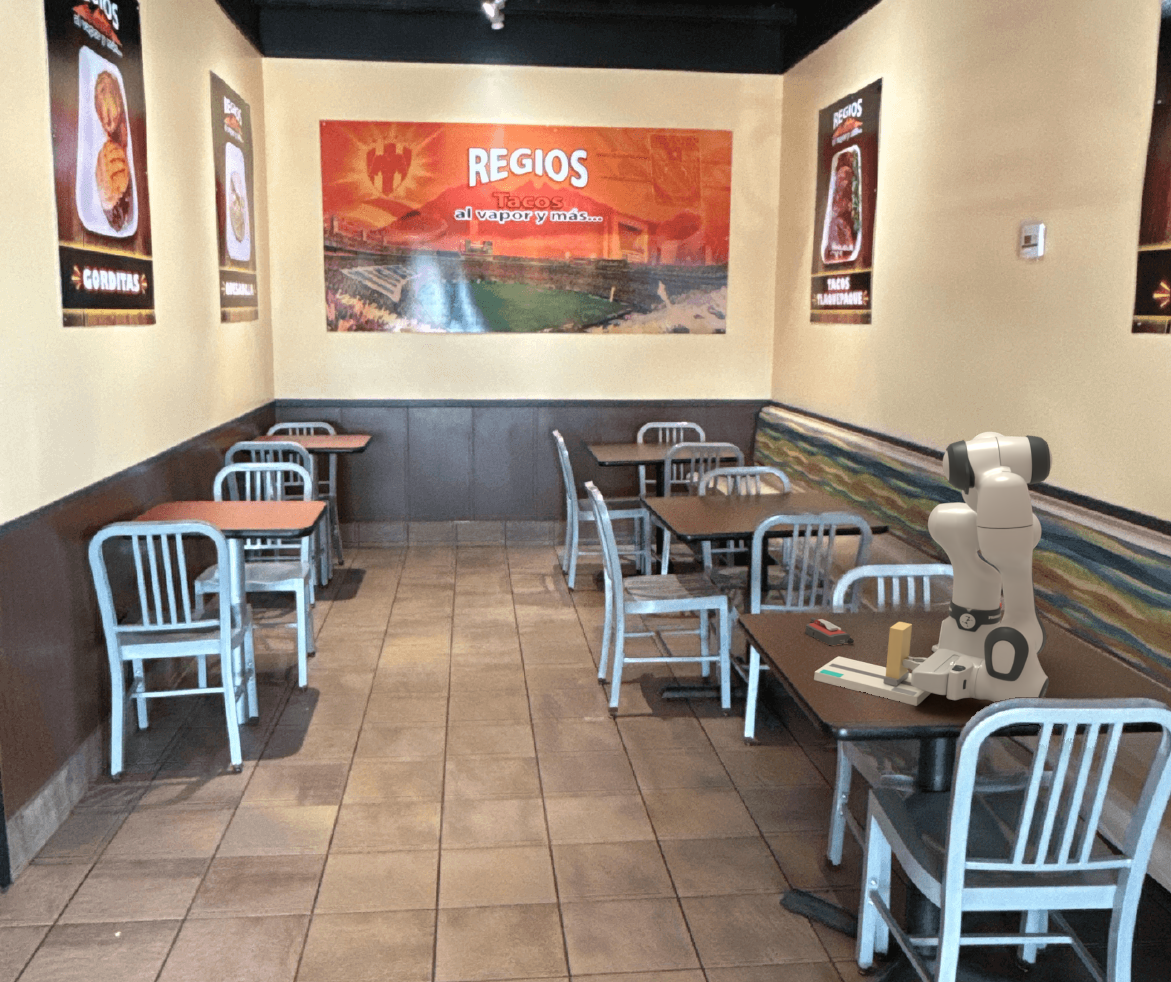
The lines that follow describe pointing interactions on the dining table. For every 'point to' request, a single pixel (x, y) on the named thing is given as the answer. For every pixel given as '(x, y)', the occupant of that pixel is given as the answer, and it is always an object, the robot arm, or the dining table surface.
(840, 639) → the red toggle switch
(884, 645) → the dining table surface
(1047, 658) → the dining table surface
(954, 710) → the dining table surface
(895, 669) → the slider tab
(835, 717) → the dining table surface
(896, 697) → the switch track
